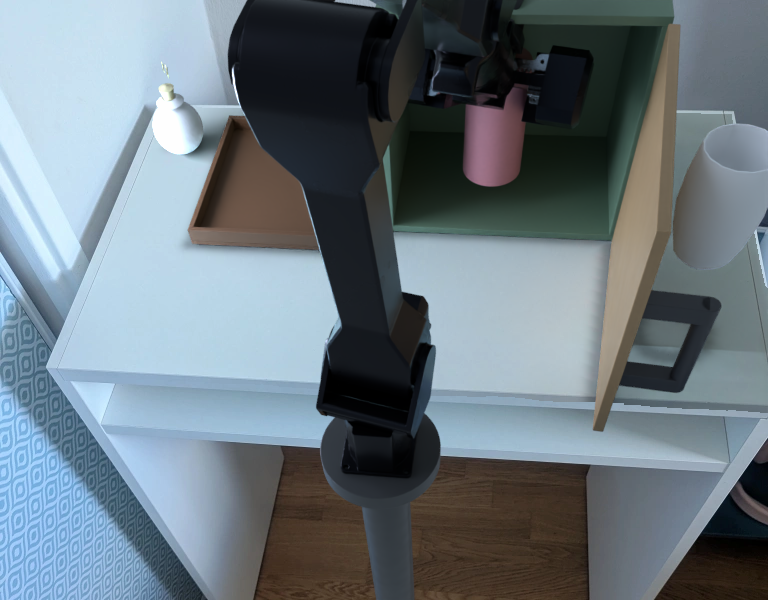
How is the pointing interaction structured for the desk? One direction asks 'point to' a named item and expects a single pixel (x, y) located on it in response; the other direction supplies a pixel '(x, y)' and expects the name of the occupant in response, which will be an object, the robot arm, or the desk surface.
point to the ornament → (176, 122)
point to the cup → (722, 196)
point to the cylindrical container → (495, 138)
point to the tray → (250, 198)
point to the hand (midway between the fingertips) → (498, 100)
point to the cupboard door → (648, 256)
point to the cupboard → (540, 135)
